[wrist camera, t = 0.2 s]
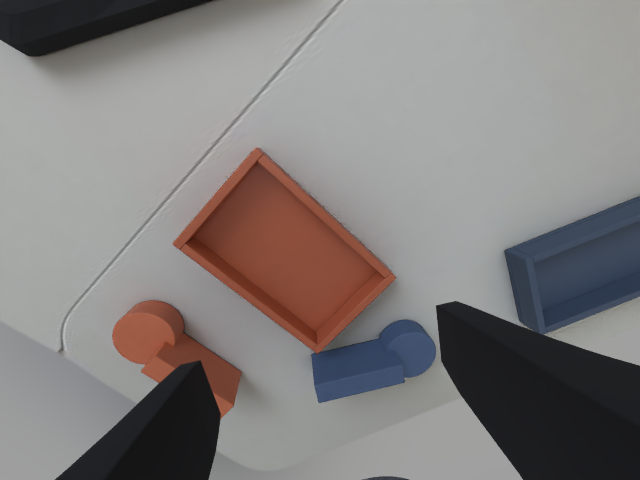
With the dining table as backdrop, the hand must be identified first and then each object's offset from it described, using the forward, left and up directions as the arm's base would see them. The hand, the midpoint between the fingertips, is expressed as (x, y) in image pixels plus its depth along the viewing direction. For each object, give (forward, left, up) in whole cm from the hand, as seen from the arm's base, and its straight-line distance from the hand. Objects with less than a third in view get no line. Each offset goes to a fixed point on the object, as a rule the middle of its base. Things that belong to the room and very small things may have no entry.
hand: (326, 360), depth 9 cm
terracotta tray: (0, +1, -10) cm, 11 cm away
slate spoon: (-8, -3, -11) cm, 14 cm away
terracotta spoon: (-5, +9, -10) cm, 15 cm away
